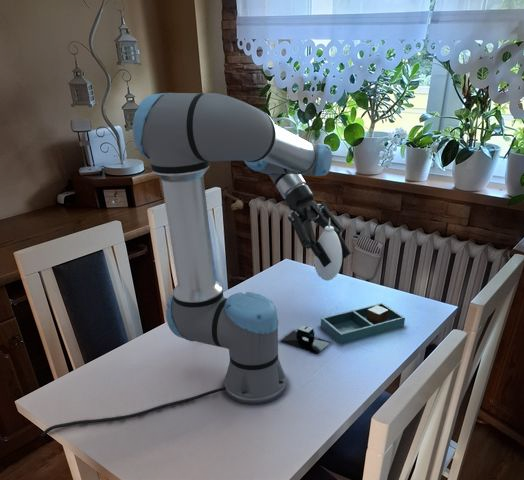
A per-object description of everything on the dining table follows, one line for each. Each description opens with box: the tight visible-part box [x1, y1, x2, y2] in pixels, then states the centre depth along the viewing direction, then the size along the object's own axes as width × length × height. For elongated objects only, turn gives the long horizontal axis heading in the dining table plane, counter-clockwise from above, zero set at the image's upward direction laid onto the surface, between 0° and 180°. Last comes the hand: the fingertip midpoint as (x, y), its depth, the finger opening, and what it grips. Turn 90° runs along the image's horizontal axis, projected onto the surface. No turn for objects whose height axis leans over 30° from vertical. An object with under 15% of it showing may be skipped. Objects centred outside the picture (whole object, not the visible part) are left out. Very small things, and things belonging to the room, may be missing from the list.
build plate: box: [280, 324, 331, 355], centre depth 137 cm, size 12×7×5 cm, turn 54°
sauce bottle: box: [313, 218, 343, 282], centre depth 136 cm, size 8×8×18 cm
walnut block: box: [367, 305, 389, 325], centre depth 145 cm, size 4×4×4 cm
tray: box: [320, 302, 406, 345], centre depth 143 cm, size 22×11×3 cm, turn 114°
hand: (337, 260), depth 135 cm, fingers closed on sauce bottle, 8 cm apart
